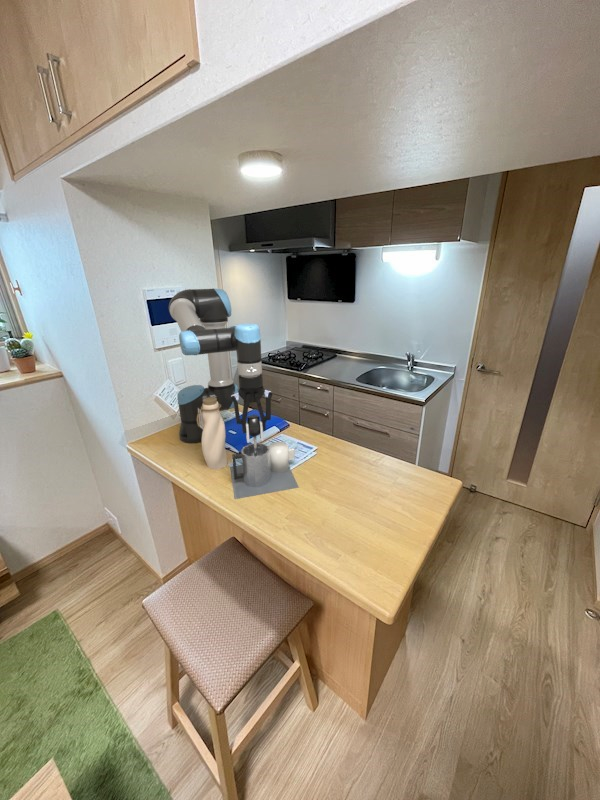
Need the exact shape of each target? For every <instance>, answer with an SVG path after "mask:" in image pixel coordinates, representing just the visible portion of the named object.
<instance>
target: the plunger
mask: <svg viewBox="0 0 600 800" xmlns="http://www.w3.org/2000/svg"><path fill="white" fill-rule="evenodd" d="M260 420H261V418H260V415H258V414H250V415H247V420H246V422H248V427H249V437H252V439H253V440H252V441H253V444H254V456H257V443H258V442H257V436H260Z"/></svg>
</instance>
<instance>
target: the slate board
mask: <svg viewBox="0 0 600 800" xmlns="http://www.w3.org/2000/svg"><path fill="white" fill-rule="evenodd" d="M229 468H230V469H229V470H230V477H231V483H232V484H231V485H232V491H233V499H234V500H238V499H243V498H244V499H245V498H250V497H256V496H260V495H266V494H272V493H277V492H282V491H287V490H292V489H298V488H300V487H299V485H298V482H297V480H296V477H295V476H294V474H293V471H292V469H291V467H290V466H289V469H288V470H287V471H286V472H284V473H273V472H271V480H270V482H269V483H268V484H266V485H265V486H262V487H249V486H248V485H246V484H245V483H244V478H240V479H236V480H235V479H234V471H233V465H232V466H229ZM236 469H237V474H240V473H243V465H242V464H240V465H239V464H238V465H236Z"/></svg>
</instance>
